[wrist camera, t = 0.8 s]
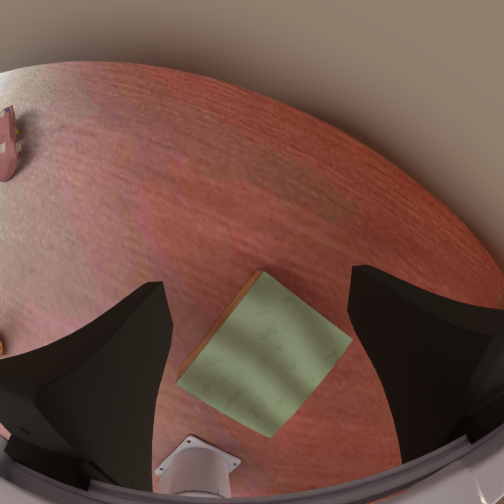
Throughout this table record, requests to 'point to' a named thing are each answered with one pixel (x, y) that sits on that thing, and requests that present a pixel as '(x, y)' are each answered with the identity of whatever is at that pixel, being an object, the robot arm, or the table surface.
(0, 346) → the figurine
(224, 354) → the green slab
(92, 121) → the table surface
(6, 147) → the video game controller
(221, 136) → the table surface
